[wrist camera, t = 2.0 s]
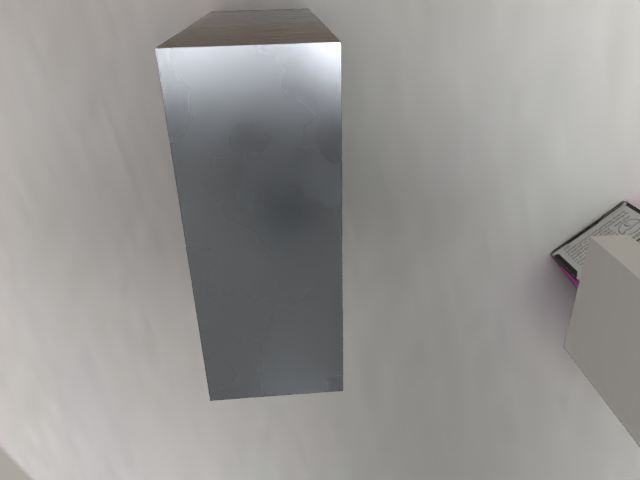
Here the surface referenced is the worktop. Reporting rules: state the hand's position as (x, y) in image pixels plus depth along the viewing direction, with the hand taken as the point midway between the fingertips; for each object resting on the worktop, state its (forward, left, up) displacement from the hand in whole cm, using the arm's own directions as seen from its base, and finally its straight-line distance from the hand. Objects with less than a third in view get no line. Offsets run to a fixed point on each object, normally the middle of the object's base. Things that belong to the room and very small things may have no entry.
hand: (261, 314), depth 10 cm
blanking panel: (0, 0, -15) cm, 15 cm away
